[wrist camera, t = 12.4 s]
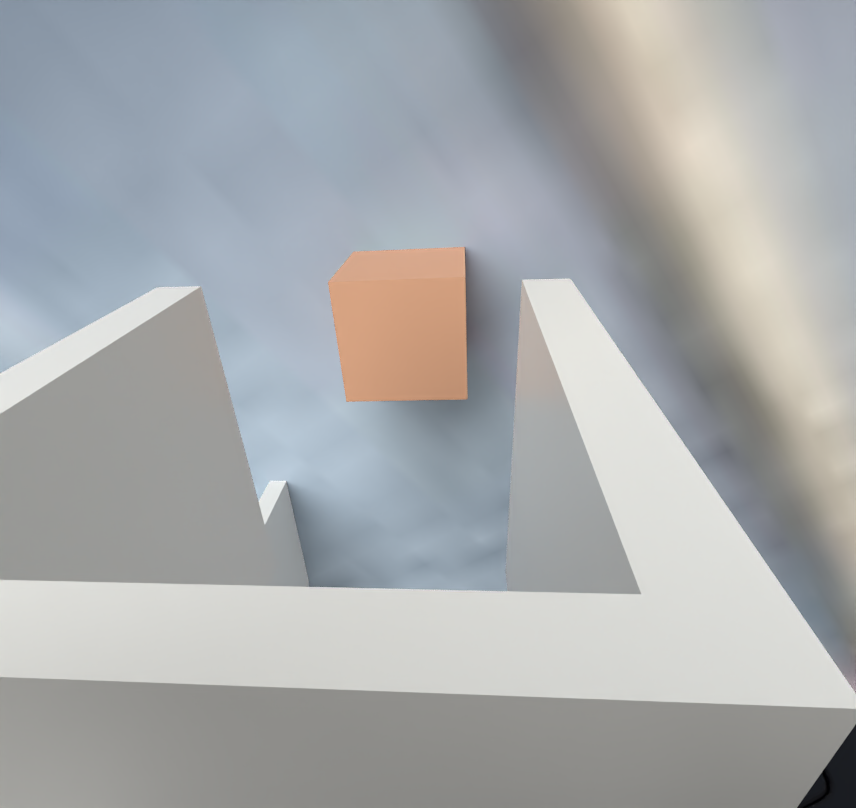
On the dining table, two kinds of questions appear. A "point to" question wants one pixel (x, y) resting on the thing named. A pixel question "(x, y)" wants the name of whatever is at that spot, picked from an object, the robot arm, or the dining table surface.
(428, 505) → the dining table surface
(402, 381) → the plain orange cube
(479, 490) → the dining table surface
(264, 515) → the cover
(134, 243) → the dining table surface
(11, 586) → the cover
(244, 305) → the dining table surface
